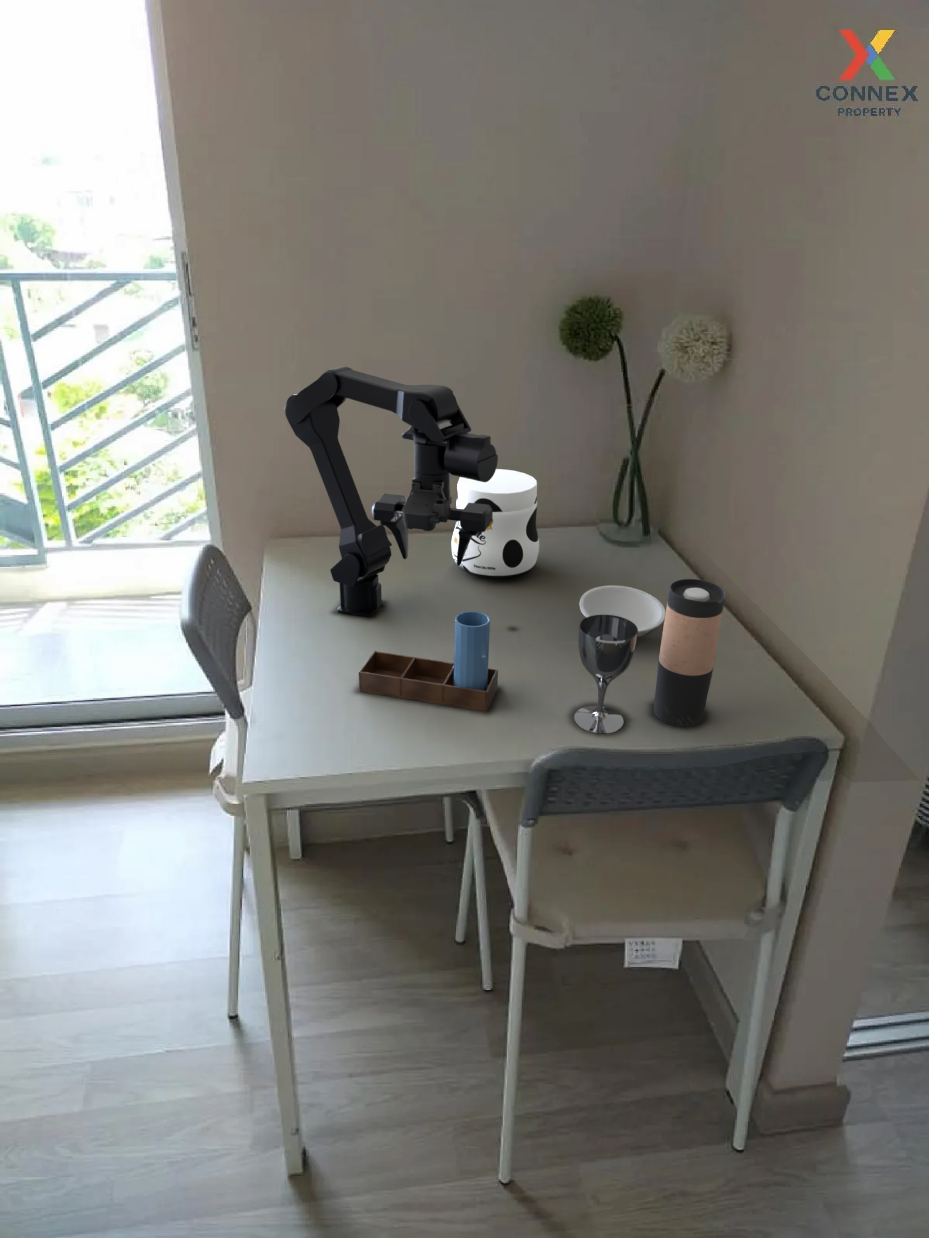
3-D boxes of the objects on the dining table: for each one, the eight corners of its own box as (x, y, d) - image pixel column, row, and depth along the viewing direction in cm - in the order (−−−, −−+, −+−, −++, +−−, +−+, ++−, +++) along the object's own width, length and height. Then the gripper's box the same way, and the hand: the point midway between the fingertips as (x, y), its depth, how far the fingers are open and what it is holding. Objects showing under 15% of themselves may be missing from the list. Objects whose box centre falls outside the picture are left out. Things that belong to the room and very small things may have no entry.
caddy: (359, 691, 132) (358, 671, 130) (375, 669, 138) (374, 650, 136) (486, 712, 128) (487, 692, 126) (497, 688, 133) (498, 669, 132)
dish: (572, 609, 158) (574, 584, 156) (651, 611, 158) (654, 586, 156) (583, 657, 143) (585, 630, 140) (671, 659, 143) (675, 632, 140)
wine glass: (613, 741, 122) (624, 646, 115) (561, 723, 125) (569, 631, 118) (635, 715, 128) (646, 623, 121) (585, 698, 131) (594, 609, 124)
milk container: (437, 576, 170) (437, 487, 162) (470, 545, 185) (472, 463, 177) (521, 592, 165) (525, 501, 156) (549, 559, 179) (554, 474, 171)
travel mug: (645, 699, 131) (662, 578, 122) (695, 698, 132) (715, 577, 123) (660, 728, 125) (678, 602, 116) (712, 727, 125) (734, 601, 116)
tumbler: (447, 696, 130) (448, 621, 124) (463, 681, 134) (465, 608, 128) (477, 705, 128) (480, 629, 122) (492, 689, 132) (495, 615, 126)
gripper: (357, 479, 132) (361, 573, 139) (477, 491, 128) (474, 588, 135) (382, 458, 141) (384, 548, 149) (494, 469, 137) (491, 561, 144)
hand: (432, 561), depth 144 cm, fingers open, 9 cm apart
